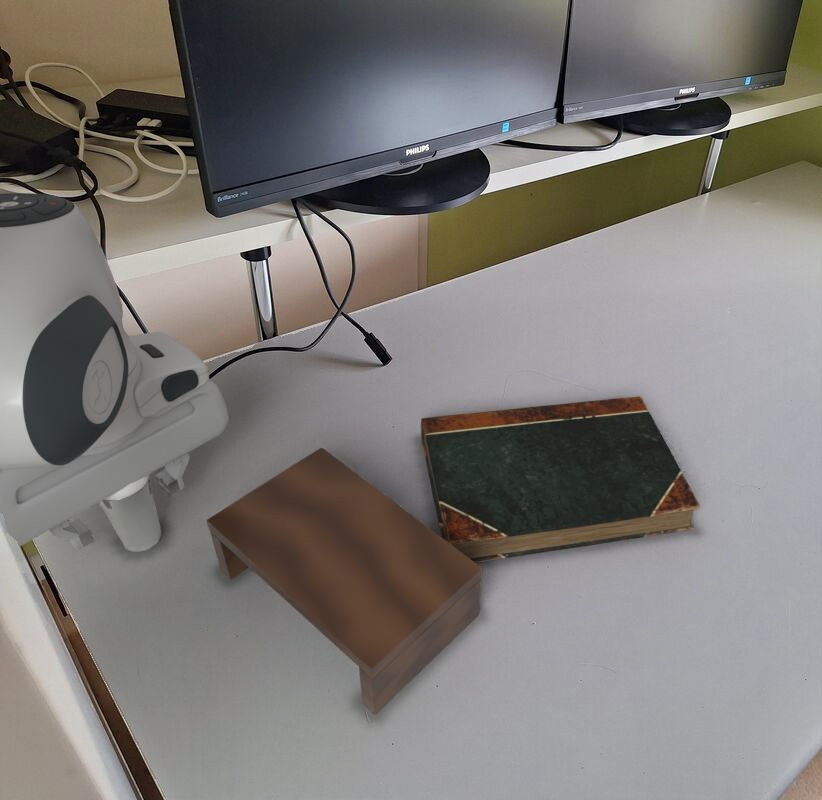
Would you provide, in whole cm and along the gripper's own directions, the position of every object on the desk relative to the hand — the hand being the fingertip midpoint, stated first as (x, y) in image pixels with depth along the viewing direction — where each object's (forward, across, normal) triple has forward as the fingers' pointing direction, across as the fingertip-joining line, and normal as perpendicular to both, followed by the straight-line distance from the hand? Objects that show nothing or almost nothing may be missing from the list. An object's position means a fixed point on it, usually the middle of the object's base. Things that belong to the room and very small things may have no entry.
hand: (129, 514), depth 67 cm
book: (+4, +32, -23) cm, 40 cm away
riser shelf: (+4, +9, -18) cm, 20 cm away
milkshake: (+4, 0, 0) cm, 4 cm away
